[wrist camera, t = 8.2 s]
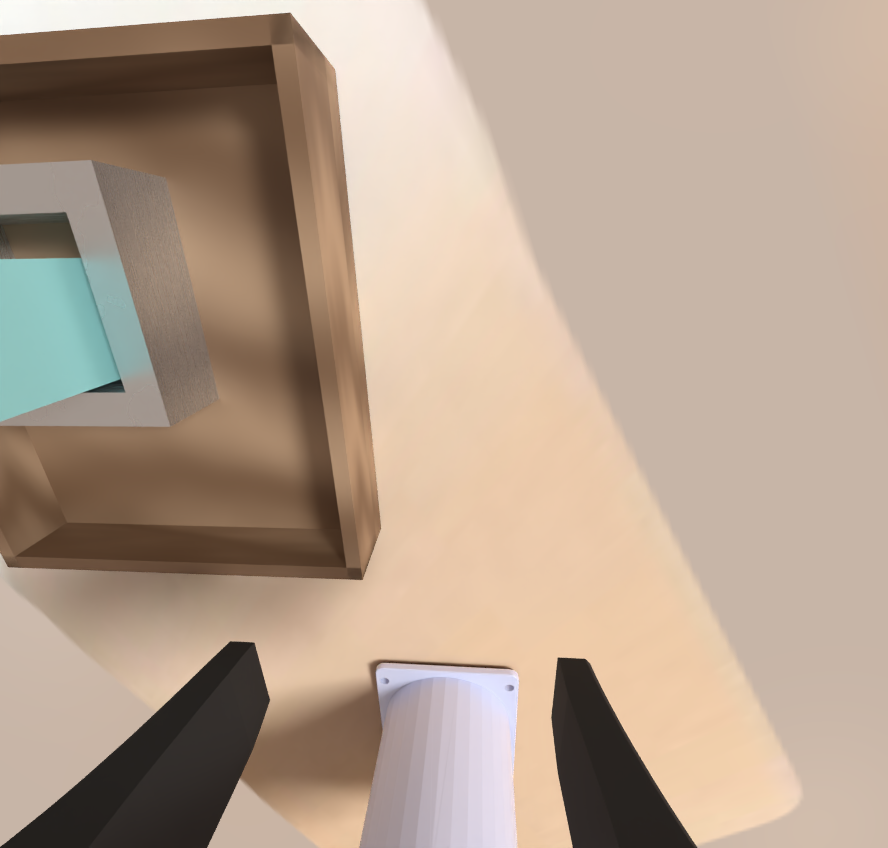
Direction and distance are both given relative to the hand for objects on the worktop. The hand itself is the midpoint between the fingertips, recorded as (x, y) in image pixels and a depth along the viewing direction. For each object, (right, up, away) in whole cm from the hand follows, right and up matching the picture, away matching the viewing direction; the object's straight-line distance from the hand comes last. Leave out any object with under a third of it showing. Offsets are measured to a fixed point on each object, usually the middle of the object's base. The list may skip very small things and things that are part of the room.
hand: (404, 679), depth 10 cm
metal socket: (-12, +11, +7) cm, 18 cm away
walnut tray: (-10, +9, +8) cm, 16 cm away
